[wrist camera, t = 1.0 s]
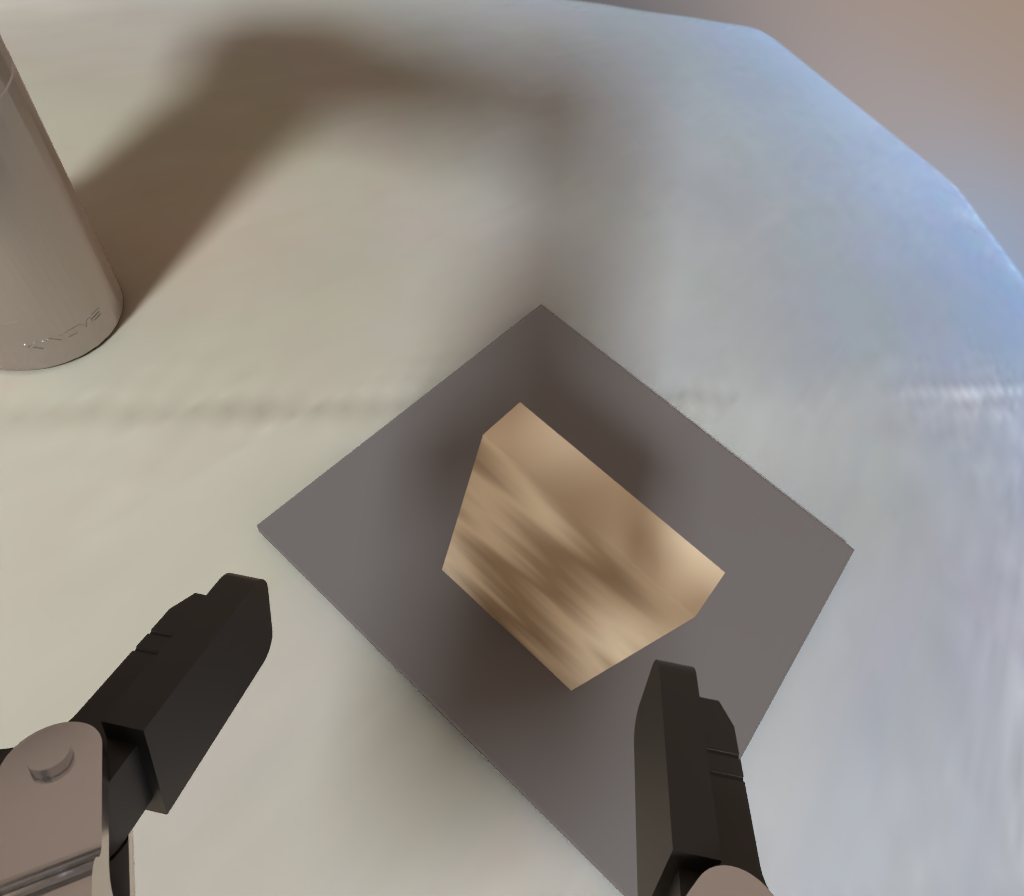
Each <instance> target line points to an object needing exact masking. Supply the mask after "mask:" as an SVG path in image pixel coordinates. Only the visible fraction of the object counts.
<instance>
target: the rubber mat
mask: <svg viewBox="0 0 1024 896" xmlns="http://www.w3.org/2000/svg"><path fill="white" fill-rule="evenodd" d="M520 402H521V403H522V404H523V405H524V406H525V407H527V408H528V409H529V410H530V411H531V412H533V413H534V414H535V415H536V416H537V417H539V418H540V419H541V420H542V421H543V422H545V423H546V424H547V425H548V426H549V427H551V428H552V429H553V430H554V431H555V432H557V433H558V434H559V435H560V436H561V437H563V438H564V439H565V440H566V441H567V442H569V443H570V444H571V445H572V446H573V447H575V448H576V449H577V450H578V451H579V452H581V453H582V454H583V455H584V456H585V457H587V458H588V459H589V460H590V461H591V462H593V463H594V464H595V465H596V466H598V467H599V468H600V469H601V470H602V471H604V472H605V473H606V474H607V475H608V476H610V477H611V478H612V479H613V480H614V481H616V482H617V483H618V484H619V485H620V486H622V487H623V488H624V489H625V490H626V491H628V492H629V493H630V494H631V495H632V496H634V497H635V498H636V499H637V500H638V501H640V502H641V503H642V504H643V505H644V506H646V507H647V508H648V509H649V510H650V511H652V512H653V513H654V514H655V515H656V516H658V517H659V518H660V519H661V520H662V521H664V522H665V523H666V524H667V525H668V526H670V527H671V528H672V529H673V530H674V531H676V532H677V533H678V534H679V535H681V536H682V537H683V538H684V539H685V540H687V541H688V542H689V543H690V544H691V545H693V546H694V547H695V548H696V549H697V550H699V551H700V552H701V553H702V554H703V555H705V556H706V557H707V558H708V559H709V560H711V561H712V562H713V563H714V564H715V565H717V566H718V567H719V568H720V569H721V570H723V571H724V572H725V574H724V575H723V577H722V578H721V579H720V581H719V582H718V584H717V585H716V587H715V588H714V590H713V591H712V593H711V594H710V596H709V597H708V599H707V600H706V602H705V603H704V605H703V606H702V607H701V609H700V610H699V612H698V613H697V615H696V616H695V617H694V618H692V619H691V620H689V621H687V622H686V623H684V624H682V625H681V626H679V627H677V628H676V629H674V630H672V631H671V632H669V633H667V634H666V635H664V636H662V637H660V638H659V639H657V640H655V641H654V642H652V643H650V644H649V645H647V646H645V647H644V648H642V649H640V650H639V651H637V652H635V653H634V654H632V655H630V656H629V657H627V658H625V659H624V660H622V661H620V662H619V663H617V664H615V665H614V666H612V667H610V668H609V669H607V670H605V671H603V672H602V673H600V674H598V675H597V676H595V677H593V678H592V679H590V680H588V681H587V682H585V683H583V684H582V685H580V686H578V687H577V688H575V689H573V690H572V691H571V690H570V689H569V688H568V687H567V686H566V685H565V684H564V683H563V682H562V681H560V680H559V679H558V678H557V677H556V676H555V675H554V674H553V673H552V672H551V671H550V670H549V669H548V668H547V667H545V666H544V665H543V664H542V663H541V662H540V661H539V660H538V659H537V658H536V657H535V656H534V655H533V654H532V653H531V652H529V651H528V650H527V649H526V648H525V647H524V646H523V645H522V644H521V643H520V642H519V641H518V640H517V639H516V638H514V637H513V636H512V635H511V634H510V633H509V632H508V631H507V630H506V629H505V628H504V627H503V626H502V625H501V624H499V623H498V622H497V621H496V620H495V619H494V618H493V617H492V616H491V615H490V614H489V613H488V612H487V611H486V610H485V609H483V608H482V607H481V606H480V605H479V604H478V603H477V602H476V601H475V600H474V599H473V598H472V597H471V596H470V595H468V594H467V593H466V592H465V591H464V590H463V589H462V588H461V587H460V586H459V585H458V584H457V583H456V582H455V581H453V580H452V579H451V578H450V577H449V576H448V575H447V574H446V573H445V572H444V571H443V570H442V568H443V565H444V561H445V558H446V555H447V552H448V548H449V545H450V542H451V538H452V535H453V532H454V529H455V525H456V522H457V519H458V515H459V512H460V509H461V505H462V502H463V499H464V496H465V492H466V489H467V486H468V482H469V479H470V476H471V473H472V469H473V466H474V463H475V459H476V456H477V453H478V450H479V446H480V443H481V440H482V436H483V434H484V433H485V432H487V431H488V430H489V429H490V428H491V427H492V426H493V425H495V424H496V423H497V422H498V421H499V420H500V419H501V418H503V417H504V416H505V415H506V414H507V413H508V412H509V411H510V410H512V409H513V408H514V407H515V406H516V405H517V404H518V403H520ZM257 527H258V529H259V532H260V533H261V534H262V535H263V536H264V537H265V538H266V539H267V540H268V541H269V542H270V543H271V544H272V545H273V546H274V547H275V548H276V549H277V550H278V551H279V552H280V553H281V554H282V555H283V556H284V557H285V558H286V559H287V560H288V561H289V562H290V563H291V564H292V565H293V566H294V567H295V568H296V569H297V570H298V571H299V572H300V573H301V574H302V575H303V576H304V577H305V578H306V579H307V580H308V581H309V582H310V583H311V584H312V585H313V586H314V587H315V588H316V589H317V590H318V591H319V592H320V593H321V594H322V595H323V596H325V597H326V598H327V599H328V600H329V601H330V602H331V603H332V604H333V605H334V606H335V607H336V608H337V609H338V610H339V611H340V612H341V613H342V614H343V615H344V616H345V617H346V618H347V619H348V620H349V621H350V622H351V623H352V624H353V625H354V626H355V627H356V628H357V629H358V630H359V631H360V632H361V633H362V634H363V635H364V636H365V637H366V638H367V639H368V640H369V641H370V642H371V643H372V644H373V645H374V646H375V647H376V648H377V649H378V650H379V651H380V652H381V653H382V654H383V655H384V656H385V657H386V658H387V659H388V660H389V661H390V662H391V663H392V664H393V665H394V666H395V667H396V668H397V669H398V670H399V671H400V672H401V673H402V674H403V675H404V676H405V677H406V678H407V679H408V680H409V681H410V682H411V683H412V684H413V685H414V686H415V687H416V688H417V689H418V690H419V691H420V692H421V693H422V694H423V695H424V696H425V697H426V698H427V699H428V700H429V701H430V702H431V703H432V704H433V705H434V706H435V707H436V708H437V709H438V710H439V711H440V712H441V713H442V714H443V715H444V716H445V717H446V718H447V719H448V720H449V721H450V722H451V723H452V724H453V725H454V726H455V727H456V728H457V729H458V730H459V731H460V732H461V733H462V734H463V735H464V736H465V737H466V738H467V739H468V740H469V741H470V742H471V743H472V744H473V745H474V746H475V747H476V748H477V749H478V750H479V751H480V752H481V753H482V754H483V755H484V756H485V757H486V758H487V759H488V760H489V761H490V762H491V763H492V764H493V765H494V766H495V767H496V768H497V769H498V770H499V771H500V772H501V773H502V774H503V775H504V776H505V777H506V778H507V779H508V780H509V781H510V782H511V783H512V784H513V785H514V786H515V787H516V788H517V789H518V790H519V791H520V792H521V793H522V794H523V795H524V796H525V797H526V798H527V799H528V800H529V801H530V802H531V803H532V804H533V805H534V806H535V807H536V808H537V809H538V810H539V811H540V812H541V813H542V814H543V815H544V816H545V817H546V818H547V819H548V820H549V821H550V822H551V823H552V824H553V825H554V826H555V827H556V828H557V829H558V830H559V831H560V832H561V833H562V834H563V835H564V836H565V837H566V838H567V839H568V840H569V841H570V842H571V843H572V844H573V845H574V846H575V847H576V848H577V849H578V850H579V851H580V852H581V853H582V854H583V855H584V856H585V857H586V858H587V859H588V860H589V861H590V862H591V863H592V864H593V865H594V866H595V867H596V868H597V869H598V870H599V871H600V872H601V873H602V874H603V875H604V876H605V877H606V878H607V879H608V880H609V881H610V882H611V883H612V884H613V885H614V886H615V887H616V888H617V889H618V890H619V891H620V892H621V893H622V894H623V895H624V896H638V893H637V851H636V810H635V768H634V729H635V721H636V715H637V710H638V707H639V704H640V701H641V698H642V695H643V692H644V689H645V686H646V683H647V680H648V677H649V674H650V671H651V668H652V665H653V663H654V661H655V660H656V659H657V660H662V661H667V662H672V663H677V664H682V665H687V666H692V667H694V668H695V670H696V674H697V681H698V688H699V696H700V697H703V698H708V699H713V700H718V701H719V702H720V703H721V705H722V707H723V708H724V710H725V712H726V713H727V715H728V717H729V719H730V720H731V722H732V724H733V725H734V728H735V733H736V739H737V744H738V749H739V759H741V757H742V755H743V753H744V751H745V750H746V748H747V746H748V744H749V742H750V740H751V739H752V737H753V735H754V733H755V731H756V729H757V728H758V726H759V724H760V722H761V720H762V718H763V717H764V715H765V713H766V711H767V709H768V707H769V705H770V704H771V702H772V700H773V698H774V696H775V694H776V693H777V691H778V689H779V687H780V685H781V683H782V682H783V680H784V678H785V676H786V674H787V672H788V671H789V669H790V667H791V665H792V663H793V661H794V660H795V658H796V656H797V654H798V652H799V650H800V649H801V647H802V645H803V643H804V641H805V639H806V638H807V636H808V634H809V632H810V630H811V628H812V627H813V625H814V623H815V621H816V619H817V617H818V616H819V614H820V612H821V610H822V608H823V606H824V605H825V603H826V601H827V599H828V597H829V595H830V594H831V592H832V590H833V588H834V586H835V584H836V583H837V581H838V579H839V577H840V575H841V573H842V572H843V570H844V568H845V566H846V564H847V562H848V561H849V559H850V557H851V555H852V553H853V551H854V549H853V548H852V547H850V546H849V545H848V544H847V543H845V542H844V541H843V540H841V539H840V538H839V537H838V536H836V535H835V534H834V533H833V532H831V531H830V530H829V529H827V528H826V527H825V526H824V525H822V524H821V523H820V522H818V521H817V520H816V519H815V518H813V517H812V516H811V515H810V514H808V513H807V512H806V511H804V510H803V509H802V508H801V507H799V506H798V505H797V504H795V503H794V502H793V501H792V500H790V499H789V498H788V497H787V496H785V495H784V494H783V493H781V492H780V491H779V490H778V489H776V488H775V487H774V486H772V485H771V484H770V483H769V482H767V481H766V480H765V479H763V478H762V477H761V476H760V475H758V474H757V473H756V472H755V471H753V470H752V469H751V468H749V467H748V466H747V465H746V464H744V463H743V462H742V461H740V460H739V459H738V458H737V457H735V456H734V455H733V454H732V453H730V452H729V451H728V450H726V449H725V448H724V447H723V446H721V445H720V444H719V443H717V442H716V441H715V440H714V439H712V438H711V437H710V436H709V435H707V434H706V433H705V432H703V431H702V430H701V429H700V428H698V427H697V426H696V425H694V424H693V423H692V422H691V421H689V420H688V419H687V418H686V417H684V416H683V415H682V414H680V413H679V412H678V411H677V410H675V409H674V408H673V407H671V406H670V405H669V404H668V403H666V402H665V401H664V400H663V399H661V398H660V397H659V396H657V395H656V394H655V393H654V392H652V391H651V390H650V389H648V388H647V387H646V386H645V385H643V384H642V383H641V382H640V381H638V380H637V379H636V378H634V377H633V376H632V375H631V374H629V373H628V372H627V371H625V370H624V369H623V368H622V367H620V366H619V365H618V364H617V363H615V362H614V361H613V360H611V359H610V358H609V357H608V356H606V355H605V354H604V353H602V352H601V351H600V350H599V349H597V348H596V347H595V346H593V345H592V344H591V343H590V342H588V341H587V340H586V339H585V338H583V337H582V336H581V335H579V334H578V333H577V332H576V331H574V330H573V329H572V328H570V327H569V326H568V325H567V324H565V323H564V322H563V321H562V320H560V319H559V318H558V317H556V316H555V315H554V314H553V313H551V312H550V311H549V310H547V309H546V308H545V307H544V306H542V305H540V306H538V307H537V308H536V309H535V310H533V311H532V312H531V313H529V314H528V315H527V316H526V317H524V318H523V319H522V320H520V321H519V322H518V323H517V324H515V325H514V326H513V327H511V328H510V329H509V330H508V331H506V332H505V333H504V334H502V335H501V336H500V337H499V338H497V339H496V340H495V341H493V342H492V343H491V344H490V345H488V346H487V347H486V348H484V349H483V350H482V351H481V352H479V353H478V354H477V355H475V356H474V357H473V358H472V359H470V360H469V361H468V362H466V363H465V364H464V365H463V366H461V367H460V368H459V369H457V370H456V371H455V372H454V373H452V374H451V375H450V376H448V377H447V378H446V379H445V380H443V381H442V382H441V383H439V384H438V385H437V386H436V387H434V388H433V389H432V390H430V391H429V392H428V393H427V394H425V395H424V396H423V397H421V398H420V399H419V400H418V401H416V402H415V403H414V404H412V405H411V406H410V407H409V408H407V409H406V410H405V411H403V412H402V413H401V414H400V415H398V416H397V417H396V418H394V419H393V420H392V421H391V422H389V423H388V424H387V425H385V426H384V427H383V428H382V429H380V430H379V431H378V432H376V433H375V434H374V435H373V436H371V437H370V438H369V439H367V440H366V441H365V442H364V443H362V444H361V445H360V446H358V447H357V448H356V449H355V450H353V451H352V452H351V453H349V454H348V455H347V456H346V457H344V458H343V459H342V460H340V461H339V462H338V463H337V464H335V465H334V466H333V467H331V468H330V469H329V470H328V471H326V472H325V473H324V474H322V475H321V476H320V477H319V478H317V479H316V480H315V481H313V482H312V483H311V484H310V485H308V486H307V487H306V488H304V489H303V490H302V491H301V492H299V493H298V494H297V495H295V496H294V497H293V498H292V499H290V500H289V501H288V502H286V503H285V504H284V505H283V506H281V507H280V508H279V509H277V510H276V511H275V512H274V513H272V514H271V515H270V516H268V517H267V518H266V519H265V520H263V521H262V522H261V523H259V524H258V525H257Z"/></svg>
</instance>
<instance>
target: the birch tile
mask: <svg viewBox="0 0 1024 896" xmlns="http://www.w3.org/2000/svg"><path fill="white" fill-rule="evenodd" d="M442 570H443V571H444V572H445V573H446V574H447V575H448V576H449V577H450V578H451V579H452V580H453V581H455V582H456V583H457V584H458V585H459V586H460V587H461V588H462V589H463V590H464V591H465V592H466V593H467V594H468V595H470V596H471V597H472V598H473V599H474V600H475V601H476V602H477V603H478V604H479V605H480V606H481V607H482V608H483V609H485V610H486V611H487V612H488V613H489V614H490V615H491V616H492V617H493V618H494V619H495V620H496V621H497V622H498V623H499V624H501V625H502V626H503V627H504V628H505V629H506V630H507V631H508V632H509V633H510V634H511V635H512V636H513V637H514V638H516V639H517V640H518V641H519V642H520V643H521V644H522V645H523V646H524V647H525V648H526V649H527V650H528V651H529V652H531V653H532V654H533V655H534V656H535V657H536V658H537V659H538V660H539V661H540V662H541V663H542V664H543V665H544V666H545V667H547V668H548V669H549V670H550V671H551V672H552V673H553V674H554V675H555V676H556V677H557V678H558V679H559V680H560V681H562V682H563V683H564V684H565V685H566V686H567V687H568V688H569V689H570V690H571V691H572V690H573V689H575V688H577V687H578V686H580V685H582V684H583V683H585V682H587V681H588V680H590V679H592V678H593V677H595V676H597V675H598V674H600V673H602V672H603V671H605V670H607V669H609V668H610V667H612V666H614V665H615V664H617V663H619V662H620V661H622V660H624V659H625V658H627V657H629V656H630V655H632V654H634V653H635V652H637V651H639V650H640V649H642V648H644V647H645V646H647V645H649V644H650V643H652V642H654V641H655V640H657V639H659V638H660V637H662V636H664V635H666V634H667V633H669V632H671V631H672V630H674V629H676V628H677V627H679V626H681V625H682V624H684V623H686V622H687V621H689V620H691V619H692V618H694V617H695V616H696V615H697V613H698V612H699V610H700V609H701V607H702V606H703V605H704V603H705V602H706V600H707V599H708V597H709V596H710V594H711V593H712V591H713V590H714V588H715V587H716V585H717V584H718V582H719V581H720V579H721V578H722V577H723V575H724V574H725V572H724V571H723V570H721V569H720V568H719V567H718V566H717V565H715V564H714V563H713V562H712V561H711V560H709V559H708V558H707V557H706V556H705V555H703V554H702V553H701V552H700V551H699V550H697V549H696V548H695V547H694V546H693V545H691V544H690V543H689V542H688V541H687V540H685V539H684V538H683V537H682V536H681V535H679V534H678V533H677V532H676V531H674V530H673V529H672V528H671V527H670V526H668V525H667V524H666V523H665V522H664V521H662V520H661V519H660V518H659V517H658V516H656V515H655V514H654V513H653V512H652V511H650V510H649V509H648V508H647V507H646V506H644V505H643V504H642V503H641V502H640V501H638V500H637V499H636V498H635V497H634V496H632V495H631V494H630V493H629V492H628V491H626V490H625V489H624V488H623V487H622V486H620V485H619V484H618V483H617V482H616V481H614V480H613V479H612V478H611V477H610V476H608V475H607V474H606V473H605V472H604V471H602V470H601V469H600V468H599V467H598V466H596V465H595V464H594V463H593V462H591V461H590V460H589V459H588V458H587V457H585V456H584V455H583V454H582V453H581V452H579V451H578V450H577V449H576V448H575V447H573V446H572V445H571V444H570V443H569V442H567V441H566V440H565V439H564V438H563V437H561V436H560V435H559V434H558V433H557V432H555V431H554V430H553V429H552V428H551V427H549V426H548V425H547V424H546V423H545V422H543V421H542V420H541V419H540V418H539V417H537V416H536V415H535V414H534V413H533V412H531V411H530V410H529V409H528V408H527V407H525V406H524V405H523V404H522V403H521V402H520V403H518V404H517V405H516V406H515V407H514V408H513V409H512V410H510V411H509V412H508V413H507V414H506V415H505V416H504V417H503V418H501V419H500V420H499V421H498V422H497V423H496V424H495V425H493V426H492V427H491V428H490V429H489V430H488V431H487V432H485V433H484V434H483V436H482V440H481V443H480V446H479V450H478V453H477V456H476V459H475V463H474V466H473V469H472V473H471V476H470V479H469V482H468V486H467V489H466V492H465V496H464V499H463V502H462V505H461V509H460V512H459V515H458V519H457V522H456V525H455V529H454V532H453V535H452V538H451V542H450V545H449V548H448V552H447V555H446V558H445V561H444V565H443V568H442Z"/></svg>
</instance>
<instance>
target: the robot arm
mask: <svg viewBox="0 0 1024 896" xmlns="http://www.w3.org/2000/svg"><path fill="white" fill-rule="evenodd" d="M122 311H123V296H122V292H121V288H120V286H119V284H118V282H117V280H116V277H115V275H114V273H113V271H112V269H111V267H110V265H109V263H108V261H107V258H106V256H105V254H104V252H103V250H102V248H101V246H100V244H99V241H98V239H97V237H96V235H95V232H94V230H93V228H92V226H91V224H90V222H89V220H88V218H87V216H86V213H85V211H84V209H83V207H82V205H81V203H80V201H79V199H78V197H77V194H76V192H75V190H74V188H73V186H72V184H71V182H70V180H69V178H68V176H67V173H66V171H65V169H64V167H63V165H62V163H61V161H60V159H59V157H58V154H57V152H56V150H55V148H54V146H53V144H52V142H51V140H50V138H49V135H48V133H47V131H46V129H45V127H44V125H43V123H42V121H41V119H40V117H39V114H38V112H37V110H36V108H35V106H34V104H33V102H32V100H31V98H30V95H29V93H28V91H27V89H26V87H25V85H24V83H23V81H22V79H21V76H20V74H19V72H18V70H17V68H16V66H15V64H14V62H13V60H12V58H11V55H10V53H9V51H8V50H7V48H6V46H5V44H4V42H3V39H2V37H1V35H0V369H1V370H14V371H27V370H35V369H43V368H48V367H52V366H56V365H59V364H63V363H66V362H68V361H71V360H73V359H75V358H78V357H80V356H82V355H84V354H86V353H87V352H89V351H90V350H92V349H93V348H95V347H97V346H98V345H99V344H100V343H101V342H102V341H103V340H105V339H106V338H107V337H108V336H109V335H110V334H111V332H112V331H113V329H114V328H115V326H116V325H117V324H118V322H119V319H120V316H121V313H122ZM271 641H272V623H271V613H270V604H269V594H268V586H267V583H266V581H265V580H263V579H258V578H253V577H248V576H243V575H238V574H233V573H227V574H225V575H223V576H222V577H221V578H220V579H219V581H218V582H217V583H216V584H215V585H214V587H213V588H212V589H211V590H210V591H209V593H208V594H207V595H202V594H197V593H194V594H193V595H191V596H190V597H188V598H186V599H185V600H183V601H182V602H180V603H178V604H177V605H175V606H174V607H172V608H170V609H169V610H168V611H167V612H166V614H165V615H164V616H163V617H162V618H161V619H160V620H159V621H158V623H157V624H156V625H155V626H154V627H153V628H152V629H151V633H150V634H147V635H146V636H145V637H144V638H143V640H142V641H141V642H140V643H139V644H138V645H137V646H136V650H135V651H132V652H131V653H130V654H129V655H128V656H127V658H126V659H125V660H124V661H123V662H122V663H121V664H120V665H119V667H118V668H117V669H116V670H115V671H114V672H113V673H112V674H111V676H110V677H109V678H108V679H107V680H106V681H105V682H104V684H103V685H102V686H101V687H100V688H99V689H98V690H97V691H96V693H95V694H94V695H93V696H92V697H91V698H90V699H89V700H88V702H87V703H86V704H85V705H84V706H83V707H82V708H81V709H80V711H79V712H78V713H77V714H76V715H75V716H74V717H73V718H72V719H71V720H70V721H68V722H64V723H59V724H55V725H52V726H49V727H46V728H44V729H41V730H39V731H37V732H35V733H34V734H32V735H30V736H28V737H27V738H26V739H24V740H23V741H21V742H20V743H19V744H18V745H17V746H16V747H14V748H8V749H0V896H135V872H134V842H133V831H132V829H133V827H134V826H135V824H136V823H137V821H138V820H139V818H140V817H141V815H142V814H143V812H144V811H145V810H150V811H154V812H158V813H163V814H168V812H169V811H170V809H171V808H172V806H173V805H174V803H175V801H176V800H177V798H178V797H179V795H180V794H181V792H182V790H183V789H184V787H185V786H186V784H187V782H188V781H189V779H190V778H191V776H192V775H193V773H194V771H195V770H196V768H197V767H198V765H199V764H200V762H201V760H202V759H203V757H204V756H205V754H206V753H207V751H208V749H209V748H210V746H211V745H212V743H213V741H214V740H215V738H216V737H217V735H218V734H219V732H220V730H221V729H222V727H223V726H224V724H225V723H226V721H227V719H228V718H229V716H230V715H231V713H232V712H233V710H234V708H235V707H236V705H237V704H238V702H239V700H240V699H241V697H242V696H243V694H244V693H245V691H246V689H247V688H248V686H249V685H250V683H251V682H252V680H253V678H254V677H255V675H256V674H257V672H258V671H259V669H260V667H261V666H262V664H263V662H264V661H265V659H266V657H267V654H268V652H269V649H270V645H271ZM634 768H635V810H636V851H637V893H638V896H773V894H772V893H771V892H770V891H769V889H768V887H767V885H766V883H765V880H764V878H763V875H762V871H761V867H760V863H759V857H758V852H757V846H756V841H755V836H754V830H753V825H752V820H751V814H750V809H749V803H748V798H747V793H746V787H745V782H743V771H742V766H741V760H740V759H739V749H738V744H737V739H736V733H735V728H734V725H733V724H732V722H731V720H730V719H729V717H728V715H727V713H726V712H725V710H724V708H723V707H722V705H721V703H720V702H719V701H718V700H713V699H708V698H703V697H700V696H699V688H698V681H697V674H696V670H695V668H694V667H692V666H687V665H682V664H677V663H672V662H667V661H662V660H657V659H656V660H655V661H654V663H653V665H652V668H651V671H650V674H649V677H648V680H647V683H646V686H645V689H644V692H643V695H642V698H641V701H640V704H639V707H638V710H637V715H636V721H635V729H634Z"/></svg>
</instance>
